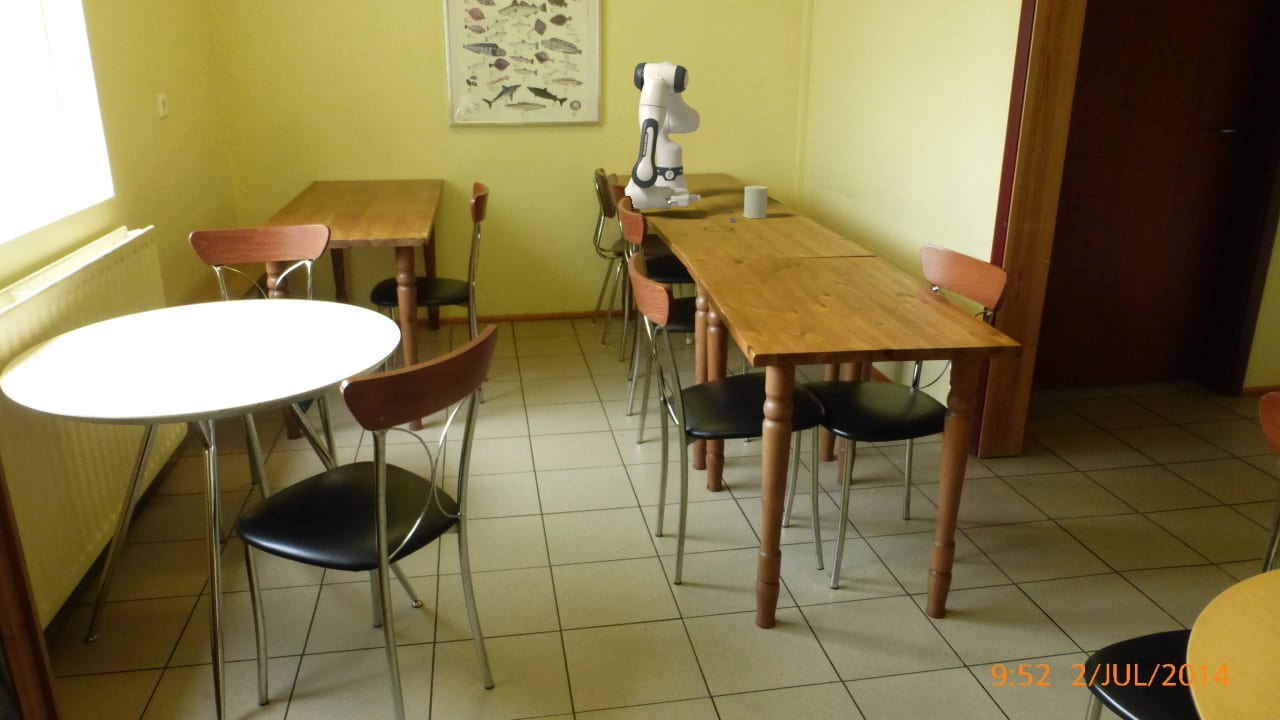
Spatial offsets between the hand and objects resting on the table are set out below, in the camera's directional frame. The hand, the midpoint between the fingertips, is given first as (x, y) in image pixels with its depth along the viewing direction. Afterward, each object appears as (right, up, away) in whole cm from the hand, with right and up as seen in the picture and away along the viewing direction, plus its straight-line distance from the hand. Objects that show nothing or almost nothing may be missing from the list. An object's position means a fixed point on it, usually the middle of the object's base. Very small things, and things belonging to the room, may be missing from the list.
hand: (700, 197), depth 368 cm
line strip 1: (+12, -4, +12) cm, 17 cm away
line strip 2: (+12, -10, -8) cm, 18 cm away
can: (+21, -8, 0) cm, 23 cm away
